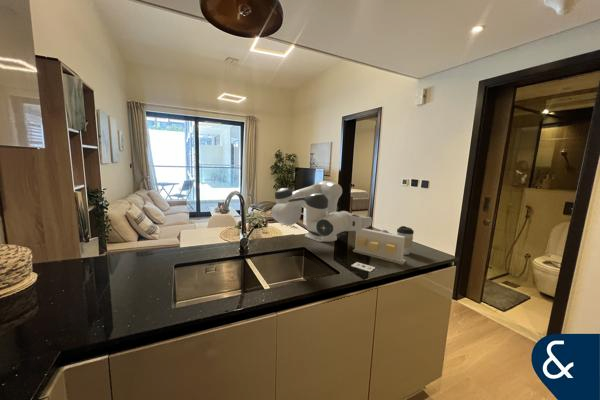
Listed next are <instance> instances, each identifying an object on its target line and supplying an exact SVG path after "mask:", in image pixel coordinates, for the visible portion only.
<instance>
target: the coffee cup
mask: <svg viewBox="0 0 600 400" xmlns="http://www.w3.org/2000/svg"><path fill="white" fill-rule="evenodd" d="M414 233H415V231H414V230H413V229H412V228H411V227H408V226H405V225H402V226H400V227H398V228H397V229H396V235H400V236H405V240H404V252H403V256H405V255H406V256H408V255H410V254H411V249H412V244H413V239H414Z"/></svg>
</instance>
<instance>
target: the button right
mask: <svg viewBox="0 0 600 400" xmlns="http://www.w3.org/2000/svg"><path fill="white" fill-rule="evenodd" d="M386 253H390V254H394V253H396V245H393V244H389V243H388V244H387V245H386Z"/></svg>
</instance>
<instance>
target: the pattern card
mask: <svg viewBox="0 0 600 400" xmlns="http://www.w3.org/2000/svg"><path fill="white" fill-rule="evenodd" d="M350 267H352V268H356V269H357V270H358V269H359V270H361V271H365V272H368V273H371V272H372V271H374V270H375V269H376V267H375V266H372V265H369V264H365V263H361V262H358V261H356V262H355V263H353V264H351V265H350ZM373 269H374V270H373Z"/></svg>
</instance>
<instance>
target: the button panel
mask: <svg viewBox="0 0 600 400" xmlns="http://www.w3.org/2000/svg"><path fill="white" fill-rule="evenodd" d="M360 237H362V238H366V239H367V246H365V247H361V246H357V240H358V238H360ZM404 240H405V236H400V235H397V234H394V233H390V232H389V233H384V232H380V230H379V231H378V230H375V229H374V230H373V229H369V228H364V229H362V230H361V231H355V243H354V249H352V252H353V253H357V254H360V255H364V256H368V257H372V258H376V259H380V260H383V261H388V262H392V263H395V264H397V265H398V264H399V265H402V266H403V265H404V264H405V263H406V259H404V255H403V252H404ZM372 241H373V242H380V244H379V250H378V251H377V252H375V251H371V250H369V243H370V242H372ZM388 243H389V244H393V245H396V253H394V254H390V253H386V245H387V244H388Z"/></svg>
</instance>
